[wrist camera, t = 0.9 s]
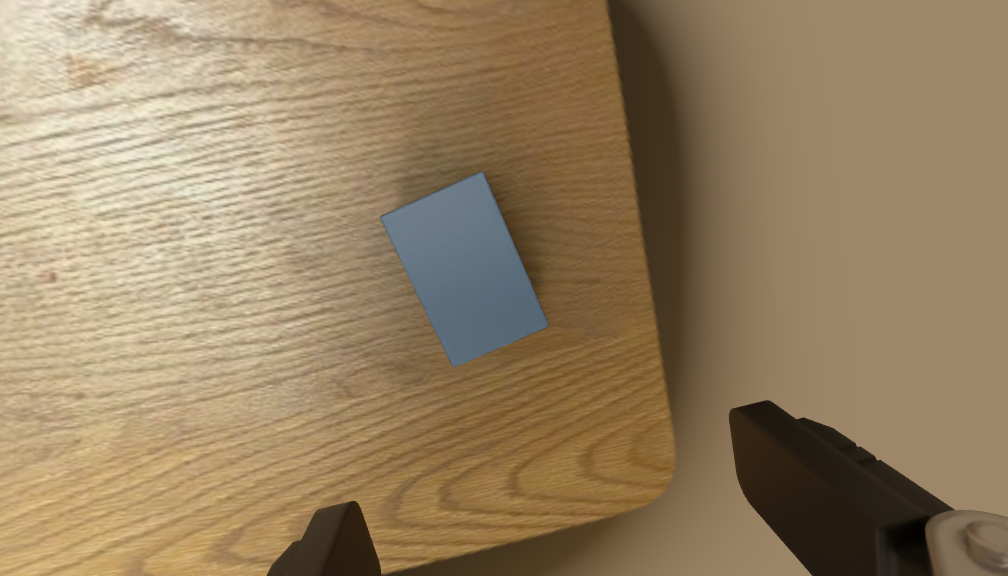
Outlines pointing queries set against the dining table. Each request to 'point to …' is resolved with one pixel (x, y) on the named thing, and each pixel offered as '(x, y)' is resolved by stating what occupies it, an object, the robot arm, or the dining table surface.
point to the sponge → (465, 269)
